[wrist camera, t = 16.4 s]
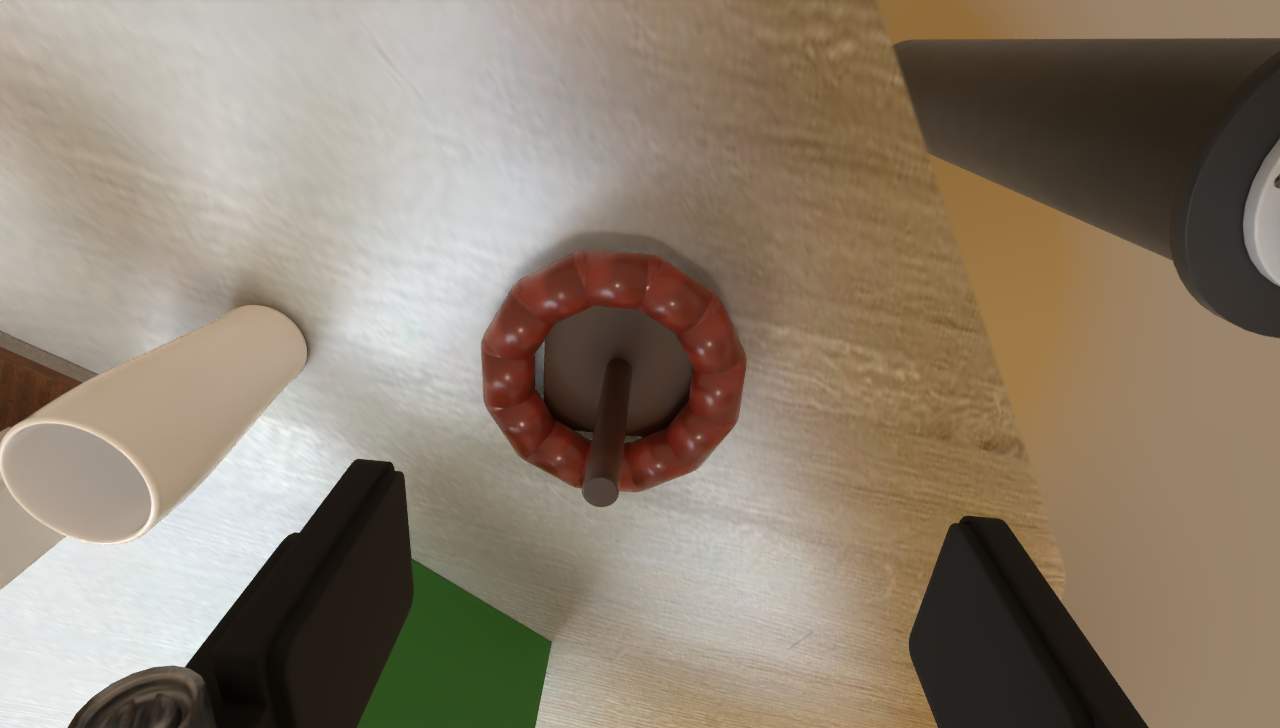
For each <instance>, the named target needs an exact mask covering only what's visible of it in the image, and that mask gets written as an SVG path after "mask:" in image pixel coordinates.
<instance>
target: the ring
mask: <svg viewBox="0 0 1280 728" xmlns="http://www.w3.org/2000/svg"><path fill="white" fill-rule="evenodd" d="M593 306H595V307H609V308H623V309H637V310H640V311H641V312H643V313H644V314H646V315H648V316H649V317H651V318H652V319H654V320H655V321H657V322H659V323H660V324H662V325H663V326H665V327H667V328H668V329H670V330H671V331H673V332H674V333H675V334H676V336H677V338H678V340H679V342H680V344H681V346H682V347H683V349H684V351H685V353H686V355H687V357H688V359H689V361H690V363H691V365H692V375H691V384H690V394H689V401H688V402H687V403H686V405H685V406H684V407H683V408H682V410H681V411H680V412H679V413H678V415H677V416H676V417H675V418H674V420H673V421H672V422H671V423H670V425H669V426H668V427H667V428H666V429H663V430H661V431H658V432H656V433H653V434H651V435H648V436H646V437H643V438H641V439H638V440H636V441H634V442H631V443H628V442H624V451H623V460H622V468H621V477H620V486H619V491H622V492H640V491H644V490H646V489H649V488H651V487H654V486H657V485H659V484H662V483H664V482H667V481H670V480H672V479H675V478H678V477H680V476H683V475H685V474H688V473H691V472H693V471H695V470H696V469H697V468H699V467H700V466H701V465H702V463H703V462H704V461H705V460H706V459H707V458H708V456H709V455H710V454H711V453H712V452H713V451H714V449H715V448H716V447H717V446H718V445H719V444H720V443H721V441H722V440H723V439H724V438H725V437H726V436H727V434H728V433H729V432H730V431H731V430H732V429H733V427H734V426H735V424H736V422H737V420H738V417H739V412H740V405H741V398H742V391H743V384H744V377H745V370H746V355H745V352H744V349H743V347H742V345H741V343H740V341H739V339H738V337H737V335H736V332H735V330H734V328H733V326H732V324H731V322H730V320H729V318H728V316H727V313H726V311H725V309H724V307H723V305H722V303H721V301H720V299H719V298H718V296H717V295H716V294H715V293H714V292H712V291H711V290H710V289H708V288H707V287H705V286H704V285H702V284H701V283H699V282H697V281H696V280H694V279H693V278H691V277H690V276H688V275H687V274H685V273H684V272H682V271H681V270H679V269H678V268H676V267H675V266H673V265H672V264H670V263H669V262H667V261H666V260H664V259H663V258H661V257H659V256H656V255H652V254H643V253H629V252H614V251H600V250H581V251H577V252H575V253H573V254H571V255H569V256H567V257H565V258H563V259H561V260H559V261H557V262H554V263H552V264H550V265H548V266H546V267H544V268H542V269H540V270H538V271H536V272H534V273H532V274H530V275H528V276H526V277H523V278H522V279H520V280H519V281H518V282H517V283H516V284H515V285H514V286H513V287H512V289H511V291H510V292H509V294H508V296H507V297H506V299H505V300H504V302H503V304H502V305H501V307H500V309H499V310H498V312H497V314H496V315H495V317H494V319H493V320H492V322H491V323H490V325H489V327H488V328H487V330H486V332H485V334H484V335H483V338H482V342H481V354H482V376H483V397H484V403H485V406H486V408H487V410H488V411H489V413H490V414H491V416H492V417H493V419H494V420H495V422H496V423H497V425H498V426H499V428H500V429H501V431H502V432H503V434H504V435H505V437H506V438H507V439H508V441H509V442H510V444H511V445H512V447H513V448H514V450H515V451H516V453H517V454H518V455H519V456H520V457H521V458H522V459H524V460H525V461H527V462H529V463H531V464H533V465H534V466H536V467H538V468H540V469H542V470H543V471H545V472H547V473H549V474H551V475H552V476H554V477H556V478H558V479H560V480H561V481H563V482H565V483H567V484H569V485H570V486H573V487H576V488H583V483H584V478H585V473H586V468H587V463H588V457H589V452H590V447H591V442H592V440H590V439H588V438H586V437H584V436H583V435H581V434H579V433H577V432H576V431H574V430H572V429H570V428H569V427H567V426H565V425H564V424H562V423H560V422H558V421H557V420H555V419H554V417H553V416H552V414H551V412H550V411H549V409H548V408H547V406H546V404H545V403H544V401H543V400H542V398H541V396H540V395H539V393H538V392H537V390H536V389H535V354H536V352H537V350H538V349H539V347H540V346H541V344H542V343H543V341H544V340H545V338H546V337H547V335H548V334H549V332H550V331H551V329H552V328H553V326H554V325H555V324H556V323H558V322H560V321H562V320H564V319H567V318H569V317H571V316H573V315H575V314H577V313H580V312H582V311H584V310H586V309H588V308H590V307H593Z"/></svg>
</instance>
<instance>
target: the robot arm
mask: <svg viewBox="0 0 1280 728" xmlns="http://www.w3.org/2000/svg"><path fill="white" fill-rule="evenodd" d="M1243 231H1244V242H1245V245H1246V248H1247V251H1248V254H1249V256H1250V259H1251V261H1252V262H1253V263H1254V265H1255V266H1256V268H1257V269H1258V270H1259V272H1260V273H1261V274H1262V275H1263V276H1265V277H1266V278H1267V279H1268V280H1270V281H1271V282H1272V283H1274V284H1275V285H1278V286H1280V138H1279V140H1278V141H1277V143H1276V144H1275V145H1274V147H1273V148H1272V149H1271V151H1270V152H1269V154H1268V155H1267V156H1266V158H1265V159H1264V161H1263V163H1262V165H1261V167H1260V169H1259V171H1258V172H1257V174H1256V176H1255V178H1254V180H1253V182H1252V185H1251V188H1250V191H1249V194H1248V197H1247V200H1246V204H1245V211H1244V219H1243ZM413 596H414V584H413V572H412V560H411V548H410V537H409V525H408V513H407V502H406V490H405V479H404V474H403V472H401V471H395V469H394V466H393V464H392V463H391V462H386V461H375V460H364V459H357V460H355V461H354V462H353V463H352V464H351V465H350V466H349V468H348V469H347V470H346V472H345V473H344V474H343V476H342V477H341V478H340V480H339V481H338V482H337V484H336V485H335V486H334V488H333V489H332V490H331V492H330V493H329V494H328V496H327V497H326V498H325V500H324V501H323V502H322V504H321V505H320V506H319V508H318V509H317V510H316V512H315V513H314V514H313V516H312V517H311V518H310V520H309V521H308V522H307V524H306V525H305V526H304V528H303V529H302V530H301V532H300V533H293V534H290V535H288V536H287V537H286V538H285V539H284V540H283V541H282V542H281V544H280V545H279V546H278V547H277V549H276V550H275V551H274V553H273V554H272V555H271V556H270V558H269V559H268V560H267V562H266V563H265V564H264V566H263V567H262V568H261V569H260V571H259V572H258V573H257V575H256V576H255V577H254V578H253V580H252V581H251V582H250V584H249V585H248V586H247V588H246V589H245V590H244V591H243V593H242V594H241V595H240V597H239V598H238V599H237V600H236V602H235V603H234V604H233V606H232V607H231V608H230V609H229V611H228V612H227V613H226V615H225V616H224V617H223V619H222V620H221V621H220V622H219V624H218V625H217V626H216V628H215V629H214V630H213V631H212V633H211V634H210V635H209V637H208V638H207V639H206V641H205V642H204V643H203V644H202V646H201V647H200V648H199V650H198V651H197V652H196V653H195V655H194V656H193V657H192V659H191V660H190V661H189V662H188V664H187V665H186V666H185V668H184V667H178V666H164V667H154V668H150V669H147V670H143V671H140V672H137V673H133V674H131V675H129V676H127V677H125V678H123V679H121V680H119V681H117V682H115V683H112V684H111V685H109V686H108V687H107V688H105V689H104V690H102V691H101V692H99V693H98V694H97V695H95V696H94V697H92V698H91V699H90V700H89V701H88V702H87V703H86V704H85V705H84V706H83V707H82V708H81V709H80V710H79V711H78V712H77V713H76V715H75V716H74V718H73V720H72V721H71V723H70V725H69V726H68V728H357V726H358V724H359V722H360V719H361V717H362V715H363V713H364V711H365V708H366V706H367V704H368V702H369V700H370V697H371V695H372V693H373V691H374V689H375V687H376V684H377V682H378V680H379V678H380V676H381V673H382V671H383V669H384V667H385V665H386V662H387V660H388V658H389V656H390V654H391V651H392V649H393V647H394V645H395V643H396V640H397V638H398V636H399V634H400V632H401V629H402V627H403V625H404V623H405V621H406V618H407V616H408V614H409V612H410V609H411V606H412V602H413ZM909 651H910V656H911V659H912V662H913V665H914V667H915V670H916V672H917V675H918V677H919V680H920V682H921V685H922V688H923V690H924V693H925V695H926V698H927V700H928V703H929V705H930V708H931V711H932V713H933V716H934V718H935V721H936V723H937V726H938V728H1148V726H1147V725H1146V723H1145V722H1144V720H1143V719H1142V718H1141V716H1140V715H1139V713H1138V712H1137V710H1136V709H1135V708H1134V706H1133V705H1132V703H1131V702H1130V700H1129V699H1128V697H1127V696H1126V695H1125V693H1124V692H1123V690H1122V689H1121V687H1120V686H1119V685H1118V683H1117V682H1116V680H1115V679H1114V677H1113V676H1112V675H1111V673H1110V672H1109V670H1108V669H1107V667H1106V666H1105V664H1104V663H1103V662H1102V661H1101V659H1100V658H1099V656H1098V654H1097V653H1096V652H1095V650H1094V649H1093V647H1092V646H1091V644H1090V643H1089V641H1088V640H1087V639H1086V637H1085V636H1084V634H1083V633H1082V631H1081V630H1080V629H1079V627H1078V626H1077V624H1076V623H1075V621H1074V620H1073V619H1072V617H1071V616H1070V614H1069V613H1068V612H1067V610H1066V608H1065V607H1064V606H1063V604H1062V603H1061V601H1060V600H1059V598H1058V597H1057V596H1056V594H1055V593H1054V591H1053V590H1052V588H1051V587H1050V585H1049V584H1048V583H1047V581H1046V580H1045V578H1044V577H1043V575H1042V574H1041V573H1040V571H1039V570H1038V568H1037V567H1036V565H1035V564H1034V562H1033V561H1032V560H1031V558H1030V557H1029V555H1028V554H1027V552H1026V551H1025V550H1024V548H1023V547H1022V545H1021V544H1020V542H1019V541H1018V540H1017V538H1016V537H1015V535H1014V534H1013V532H1012V531H1011V529H1010V528H1009V527H1008V525H1007V524H1006V523H1005V522H1004V521H1003V520H1001V519H997V518H986V517H976V516H964V517H963V518H962V519H961V520H960V522H959V524H958V523H954V524H952V525H951V526H950V527H949V529H948V532H947V535H946V537H945V540H944V543H943V546H942V548H941V551H940V554H939V557H938V559H937V562H936V565H935V568H934V570H933V573H932V576H931V579H930V581H929V584H928V587H927V590H926V593H925V595H924V598H923V601H922V604H921V606H920V609H919V612H918V615H917V617H916V620H915V623H914V626H913V628H912V631H911V634H910V638H909Z"/></svg>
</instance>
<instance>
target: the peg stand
mask: <svg viewBox="0 0 1280 728" xmlns="http://www.w3.org/2000/svg"><path fill="white" fill-rule="evenodd" d="M691 375H692V365H691V363H690V361H689V359H688V357H687V355H686V353H685V351H684V349H683V347H682V346H681V344H680V342H679V340H678V338H677V336H676V334H675V333H674V332H673V331H671V330H670V329H668V328H667V327H665V326H663V325H662V324H660V323H659V322H657V321H655V320H654V319H652V318H651V317H649V316H648V315H646V314H644V313H643V312H641V311H640V310H637V309H623V308H609V307H595V306H593V307H590V308H588V309H586V310H584V311H582V312H580V313H577V314H575V315H573V316H571V317H569V318H567V319H564V320H562V321H560V322H558V323H556V324H555V325H554V326H553V328H552V329H551V331H550V332H549V334H548V335H547V337H546V338H545V355H544V397H543V401H544V403H545V404H546V406H547V408H548V409H549V411H550V412H551V414H552V416H553V417H554V419H555V420H557V421H558V422H560V423H562V424H564V425H565V426H567V427H569V428H570V429H572V430H575V431H586V432H593V437H592V442H591V447H590V452H589V457H588V463H587V468H586V473H585V478H584V483H583V488H582V493H583V496H584V498H585V500H586V501H587V502H588V503H590V504H591V505H594V506H597V507H605V506H609V505H611V504H613V503H614V502H615V501H616V499H617V498H618V494H619V486H620V477H621V468H622V460H623V451H624V442H625V435H629V436H639V437H646V436H648V435H651V434H653V433H656V432H658V431H661V430H663V429H666V428H667V427H668V426H669V425H670V423H671V422H672V421H673V420H674V418H675V417H676V416H677V415H678V413H679V412H680V411H681V410H682V408H683V407H684V406H685V405H686V403H687V402H688V401H689V394H690V384H691Z"/></svg>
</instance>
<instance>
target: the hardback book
mask: <svg viewBox="0 0 1280 728" xmlns="http://www.w3.org/2000/svg"><path fill="white" fill-rule="evenodd" d="M411 560H412V572H413V584H414V596H413V602H412V606H411V609H410V612H409V614H408V616H407V618H406V621H405V623H404V625H403V627H402V629H401V632H400V634H399V636H398V638H397V640H396V643H395V645H394V647H393V649H392V651H391V654H390V656H389V658H388V660H387V662H386V665H385V667H384V669H383V671H382V673H381V676H380V678H379V680H378V682H377V684H376V687H375V689H374V691H373V693H372V695H371V697H370V700H369V702H368V704H367V706H366V708H365V711H364V713H363V715H362V717H361V719H360V722H359V724H358V726H357V728H535V725H536V720H537V715H538V710H539V705H540V700H541V695H542V689H543V684H544V679H545V674H546V669H547V664H548V659H549V654H550V648H551V643H552V642H550V641H549V640H547V639H545V638H544V637H542V636H540V635H539V634H537V633H535V632H534V631H532V630H530V629H529V628H527V627H525V626H524V625H522V624H520V623H518V622H517V621H515V620H513V619H512V618H510V617H508V616H507V615H505V614H503V613H502V612H500V611H498V610H497V609H495V608H493V607H492V606H490V605H488V604H487V603H485V602H483V601H482V600H480V599H478V598H477V597H475V596H473V595H471V594H470V593H468V592H466V591H465V590H463V589H461V588H460V587H458V586H456V585H455V584H453V583H451V582H450V581H448V580H446V579H445V578H443V577H441V576H440V575H438V574H436V573H435V572H433V571H431V570H429V569H428V568H426V567H424V566H423V565H421V564H419V563H418V562H416V561H414V560H413V559H411Z"/></svg>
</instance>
